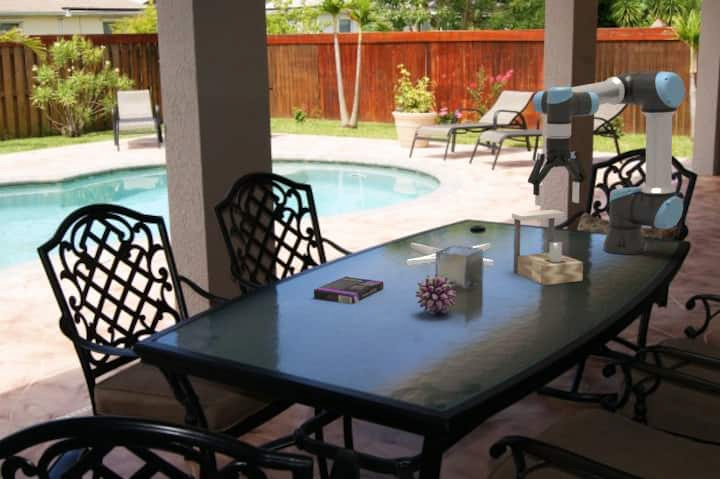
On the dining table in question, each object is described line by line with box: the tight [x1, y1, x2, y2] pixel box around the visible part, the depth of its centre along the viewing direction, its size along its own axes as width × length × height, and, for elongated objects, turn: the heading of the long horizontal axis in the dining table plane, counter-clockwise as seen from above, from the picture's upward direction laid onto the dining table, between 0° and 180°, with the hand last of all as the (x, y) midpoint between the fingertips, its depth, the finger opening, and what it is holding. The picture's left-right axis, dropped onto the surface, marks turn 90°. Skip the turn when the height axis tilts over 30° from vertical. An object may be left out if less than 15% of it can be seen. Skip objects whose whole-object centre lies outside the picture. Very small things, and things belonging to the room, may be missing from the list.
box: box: [313, 276, 384, 305], centre depth 288 cm, size 14×4×20 cm
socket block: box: [517, 252, 584, 286], centre depth 303 cm, size 14×17×6 cm
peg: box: [549, 241, 563, 264], centre depth 300 cm, size 4×4×12 cm
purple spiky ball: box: [415, 272, 458, 315], centre depth 263 cm, size 12×12×12 cm
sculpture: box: [406, 242, 494, 267], centre depth 337 cm, size 30×3×30 cm
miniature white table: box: [511, 209, 565, 274], centre depth 309 cm, size 16×6×20 cm, turn 110°
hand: (557, 204), depth 296 cm, fingers open, 13 cm apart
